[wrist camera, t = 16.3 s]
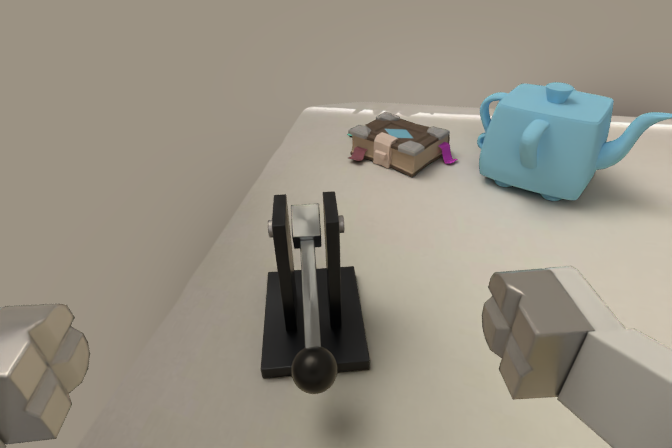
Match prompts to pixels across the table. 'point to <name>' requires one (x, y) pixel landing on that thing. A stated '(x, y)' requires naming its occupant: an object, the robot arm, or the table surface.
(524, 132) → the teapot
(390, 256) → the table surface
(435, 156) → the book
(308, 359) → the lever
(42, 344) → the robot arm
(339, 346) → the switch bracket
